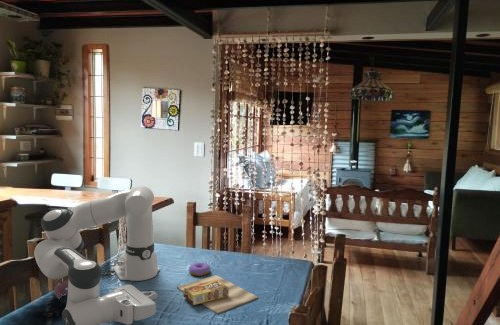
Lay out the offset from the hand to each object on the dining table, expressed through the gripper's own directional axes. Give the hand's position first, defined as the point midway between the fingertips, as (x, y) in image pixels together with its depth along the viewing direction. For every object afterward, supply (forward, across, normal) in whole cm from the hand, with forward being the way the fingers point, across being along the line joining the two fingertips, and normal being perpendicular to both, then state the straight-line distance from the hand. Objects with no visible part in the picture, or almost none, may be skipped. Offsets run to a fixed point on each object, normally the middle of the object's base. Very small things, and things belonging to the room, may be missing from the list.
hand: (155, 294), depth 136 cm
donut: (+34, -22, -8) cm, 41 cm away
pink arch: (-19, -34, -8) cm, 40 cm away
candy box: (+13, 0, -4) cm, 14 cm away
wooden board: (+27, 0, -7) cm, 28 cm away
